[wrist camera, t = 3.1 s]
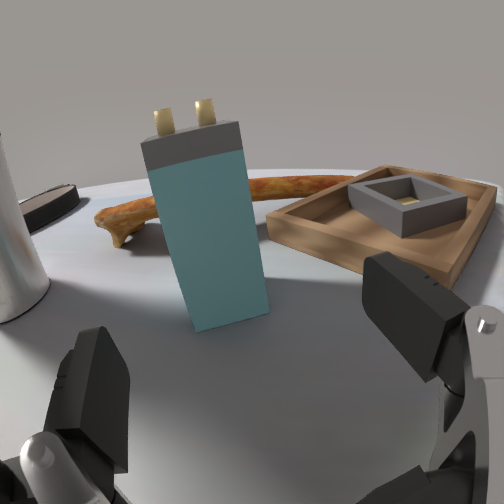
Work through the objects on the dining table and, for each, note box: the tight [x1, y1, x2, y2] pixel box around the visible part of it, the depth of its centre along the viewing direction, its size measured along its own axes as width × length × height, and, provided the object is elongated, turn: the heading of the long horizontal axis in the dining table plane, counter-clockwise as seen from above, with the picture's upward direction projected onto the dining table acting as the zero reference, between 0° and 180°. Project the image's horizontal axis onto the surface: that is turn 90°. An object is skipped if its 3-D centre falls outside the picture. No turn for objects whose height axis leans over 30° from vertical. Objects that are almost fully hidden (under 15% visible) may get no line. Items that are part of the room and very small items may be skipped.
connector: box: [141, 99, 270, 332], centre depth 19 cm, size 5×5×14 cm
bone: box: [94, 175, 354, 248], centre depth 35 cm, size 33×8×10 cm, turn 96°
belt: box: [19, 184, 80, 233], centre depth 61 cm, size 29×30×5 cm
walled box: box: [265, 165, 497, 290], centre depth 29 cm, size 17×23×2 cm
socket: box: [348, 174, 468, 239], centre depth 29 cm, size 10×10×2 cm
